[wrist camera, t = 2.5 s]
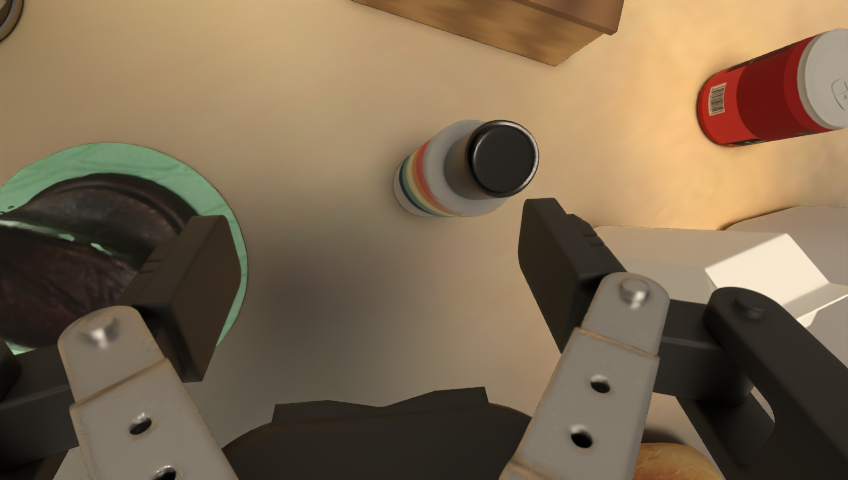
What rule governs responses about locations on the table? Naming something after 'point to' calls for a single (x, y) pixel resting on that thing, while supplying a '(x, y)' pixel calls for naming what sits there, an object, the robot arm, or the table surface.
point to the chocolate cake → (92, 234)
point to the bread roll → (673, 463)
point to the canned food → (780, 93)
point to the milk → (724, 265)
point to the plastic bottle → (817, 261)
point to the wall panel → (516, 22)
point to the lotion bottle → (467, 169)
